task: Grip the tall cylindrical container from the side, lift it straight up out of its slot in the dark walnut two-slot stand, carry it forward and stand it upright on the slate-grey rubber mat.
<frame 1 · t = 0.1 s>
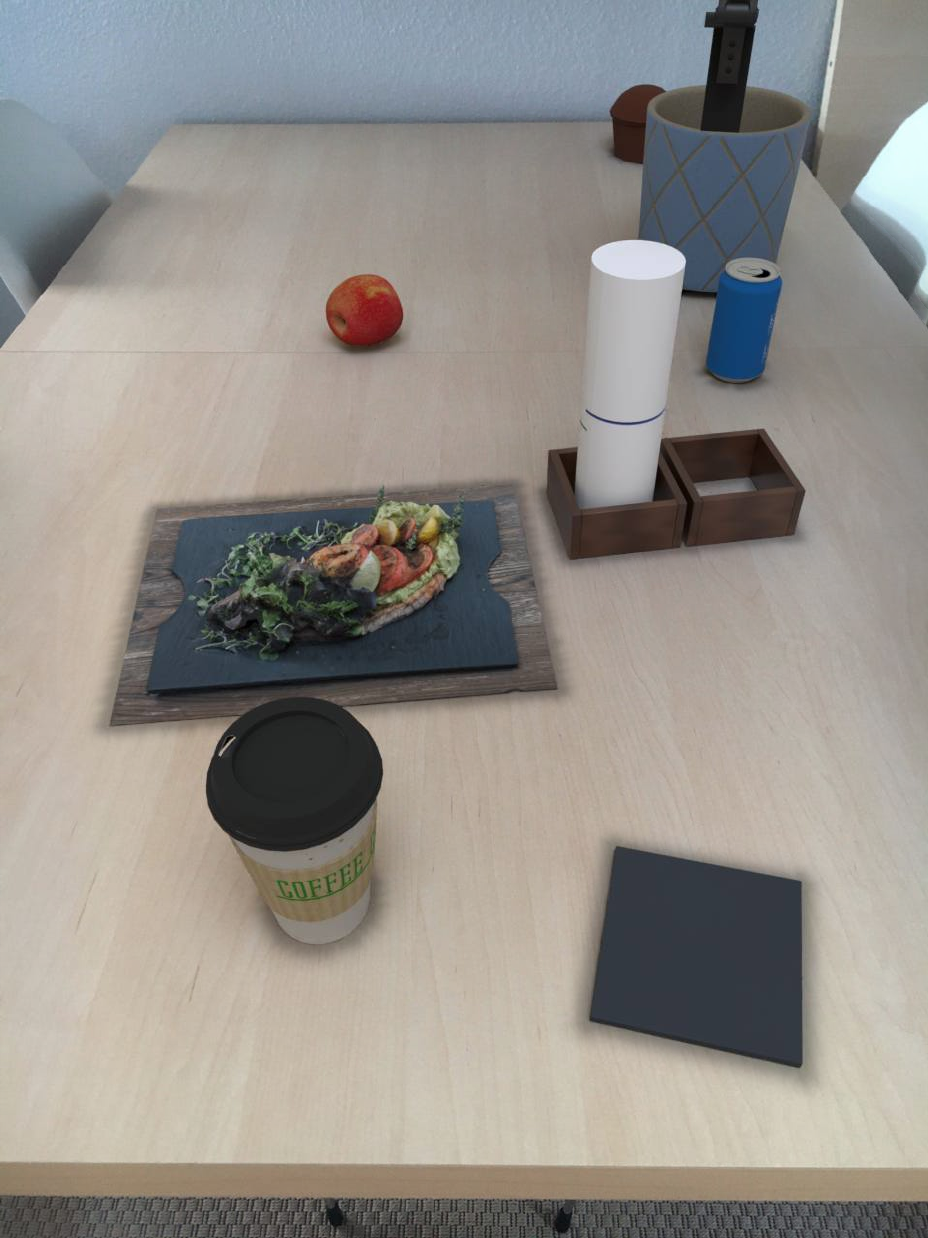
hand: (724, 102, 75), 34 cm above the table, tool pointing down, fingers open, 13 cm apart
plated dish: (336, 591, 86), on the table
beverage can: (733, 373, 112), on the table
planter: (703, 271, 131), on the table
mat: (699, 950, 61), on the table
apple: (366, 344, 119), on the table
muffin: (640, 154, 164), on the table
cylindrical container: (610, 520, 93), resting in stand
stand: (666, 513, 93), on the table
coffee cup: (322, 902, 64), on the table
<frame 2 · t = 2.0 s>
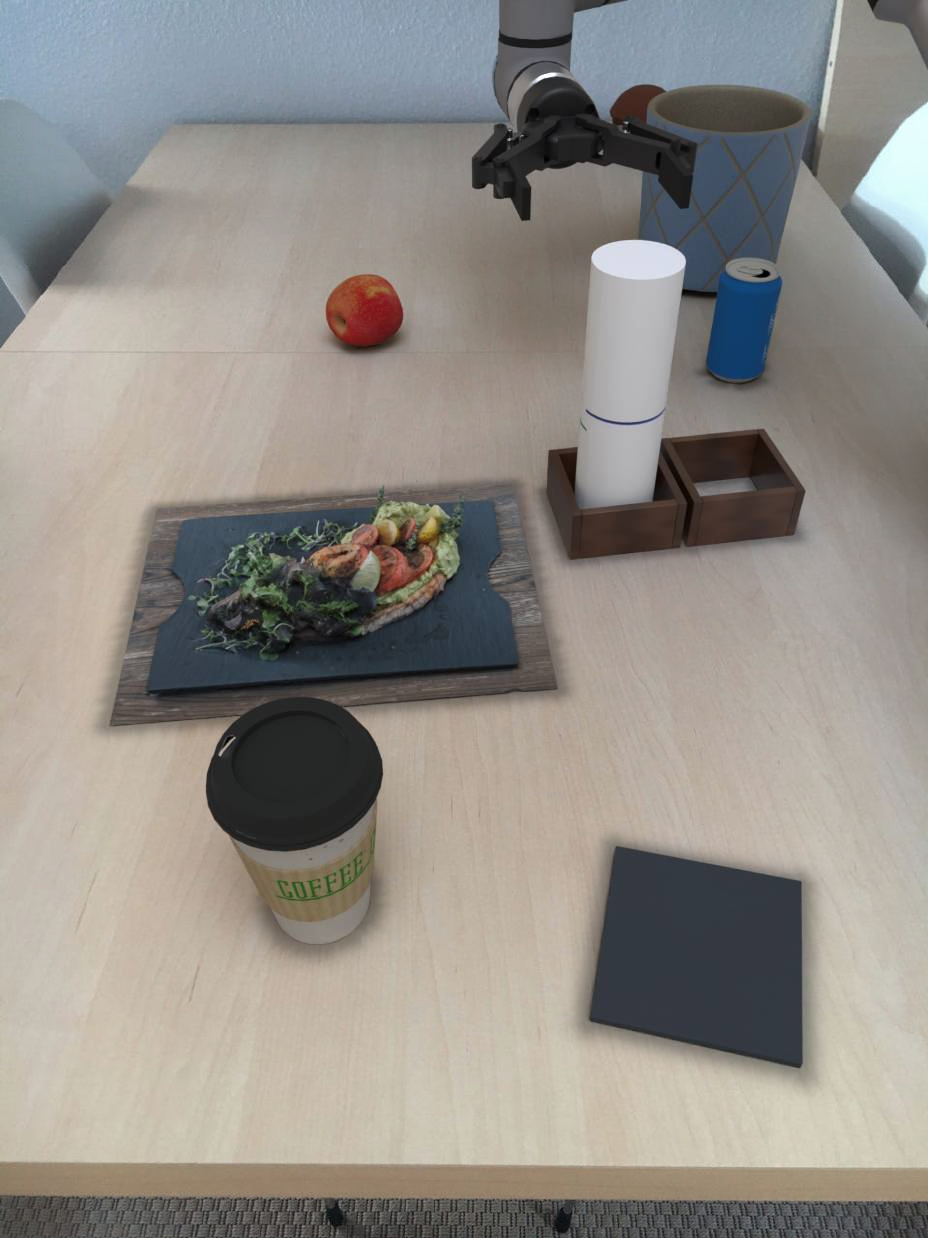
hand: (607, 198, 82), 26 cm above the table, tool horizontal, fingers open, 13 cm apart
nothing on the table moved.
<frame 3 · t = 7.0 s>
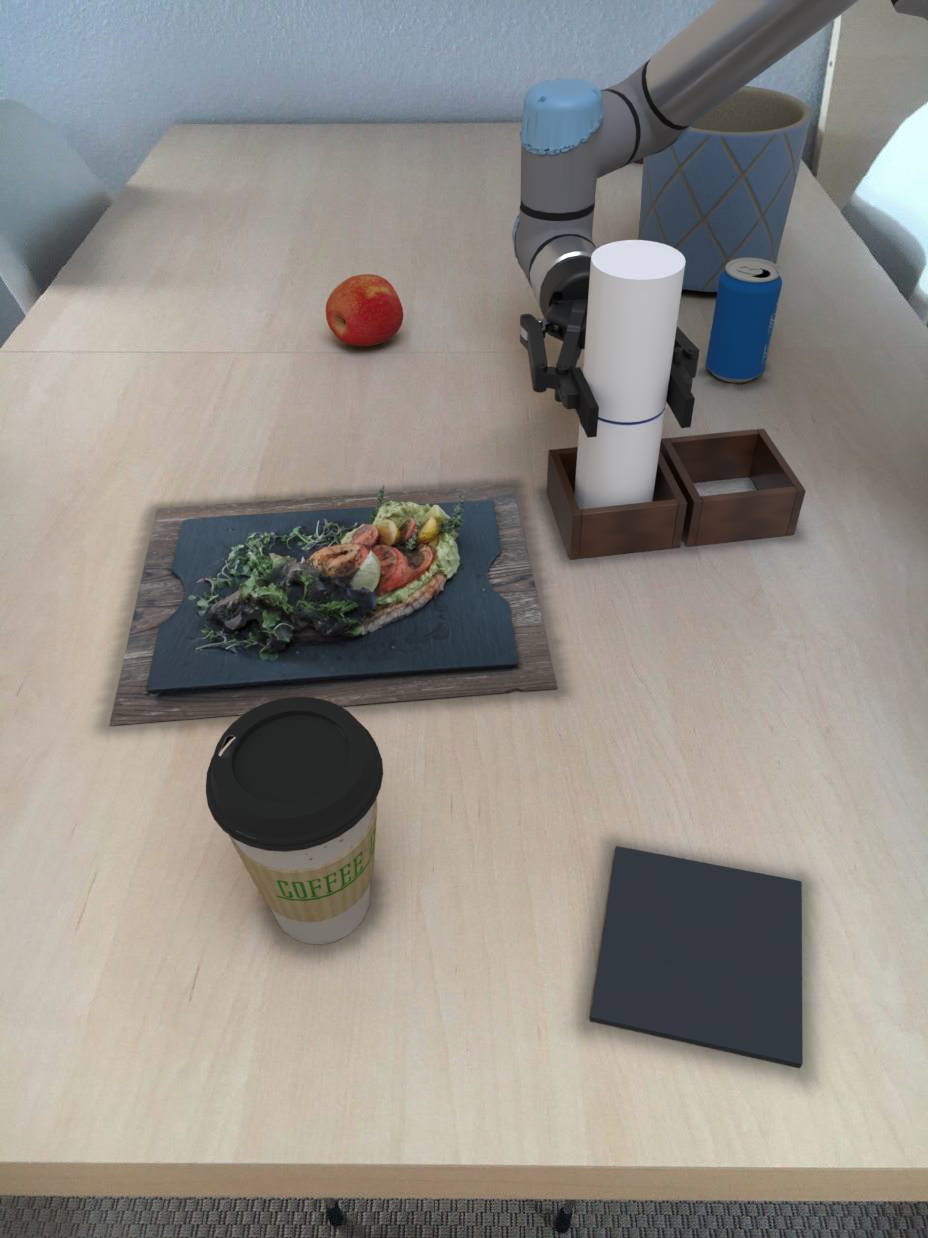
hand: (640, 417, 80), 14 cm above the table, tool horizontal, fingers closed on cylindrical container, 7 cm apart
cylindrical container: (610, 520, 93), resting in stand, touching gripper
everything else where it was.
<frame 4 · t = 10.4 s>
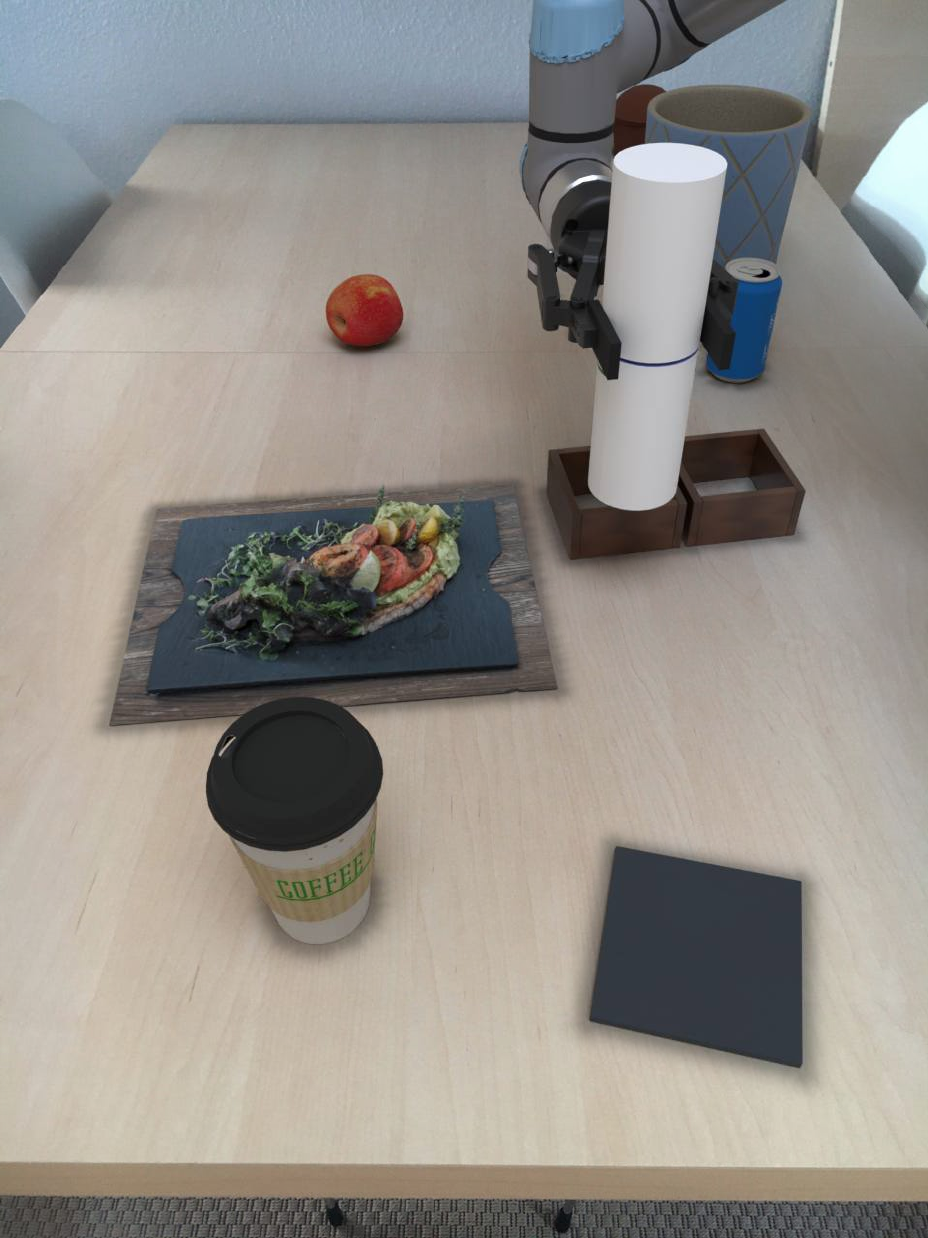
hand: (671, 356, 67), 24 cm above the table, tool horizontal, fingers closed on cylindrical container, 7 cm apart
cylindrical container: (631, 485, 80), point 10 cm above the table, touching gripper
everything else where it was.
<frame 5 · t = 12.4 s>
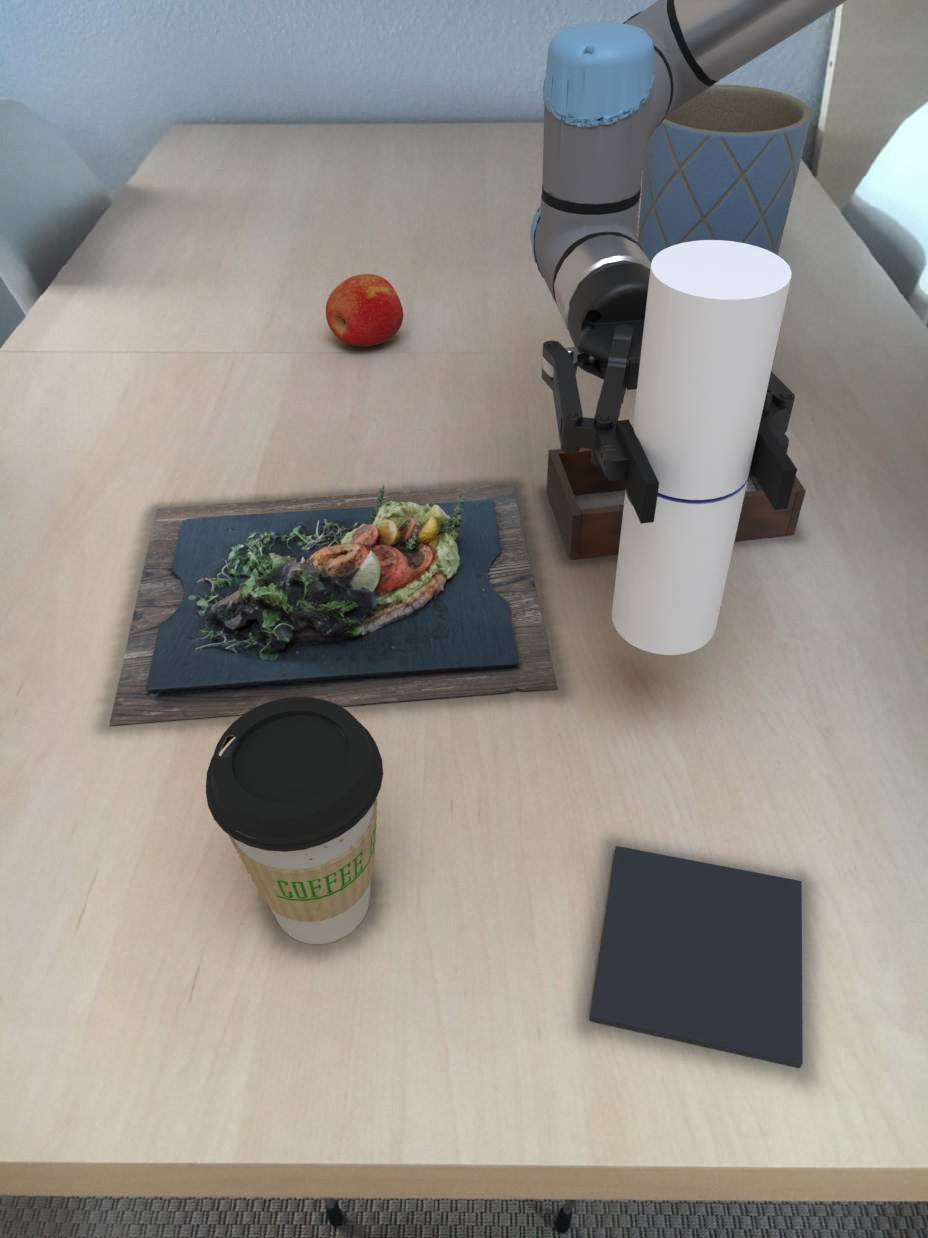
hand: (718, 496, 55), 24 cm above the table, tool horizontal, fingers closed on cylindrical container, 7 cm apart
cylindrical container: (663, 620, 69), point 10 cm above the table, touching gripper
everything else where it was.
when the fingers open (15 cm above the table, at t = 17.8 s): cylindrical container stays where it is, resting on mat.
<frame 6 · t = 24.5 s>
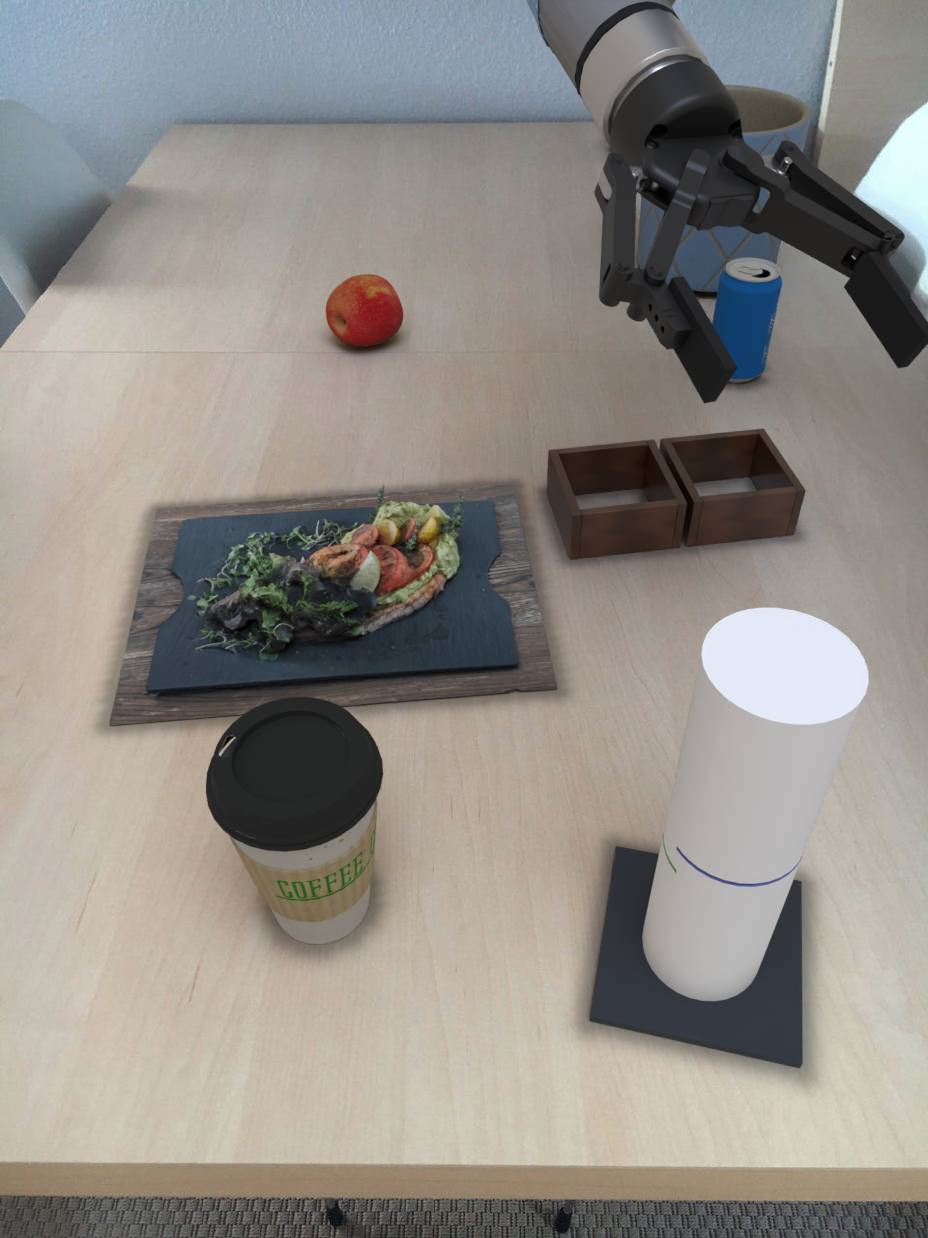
hand: (823, 368, 55), 29 cm above the table, tool tilted 70°, fingers open, 13 cm apart
cylindrical container: (700, 946, 61), resting on mat
everything else where it was.
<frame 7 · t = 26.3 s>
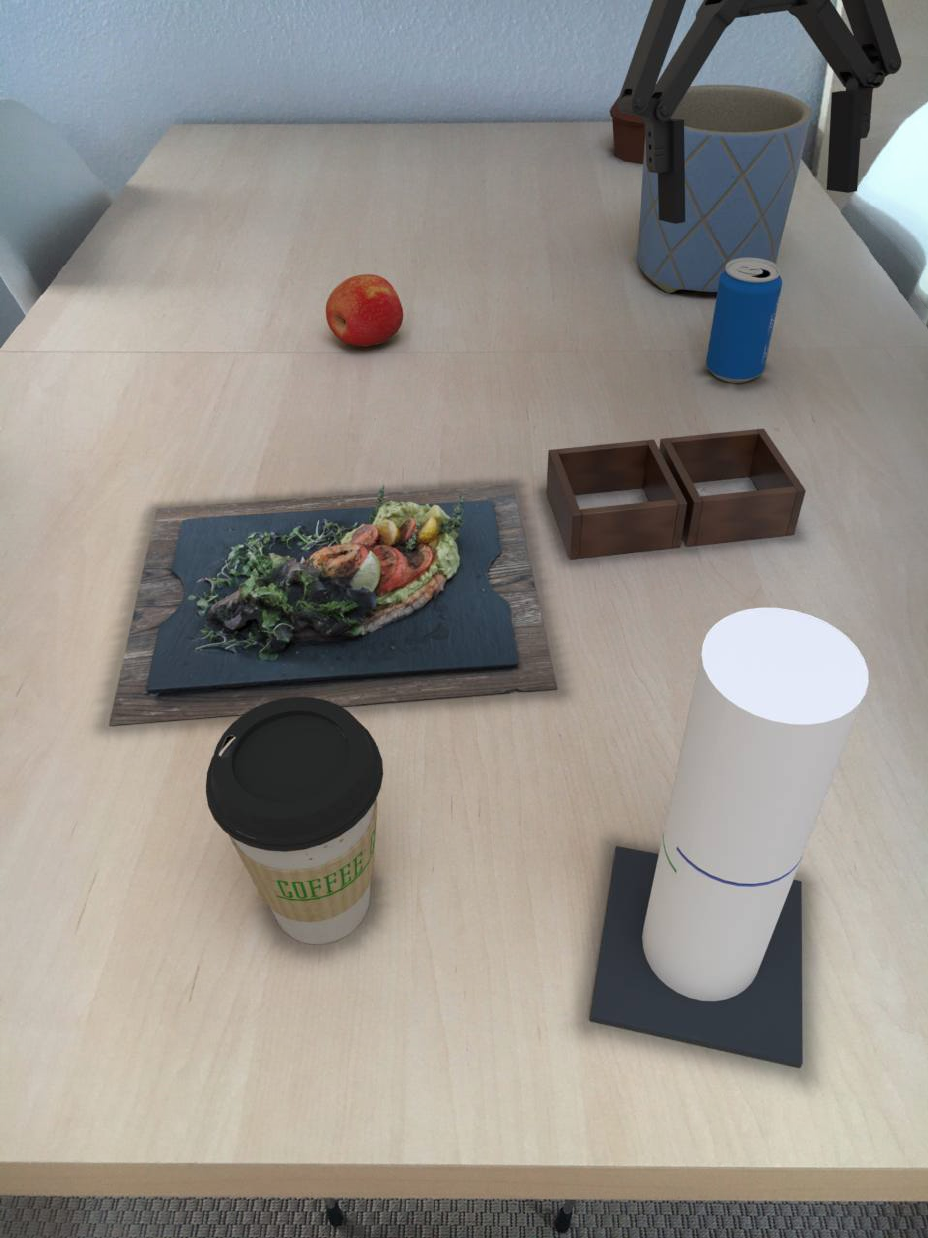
hand: (758, 206, 72), 29 cm above the table, tool pointing down, fingers open, 13 cm apart
nothing on the table moved.
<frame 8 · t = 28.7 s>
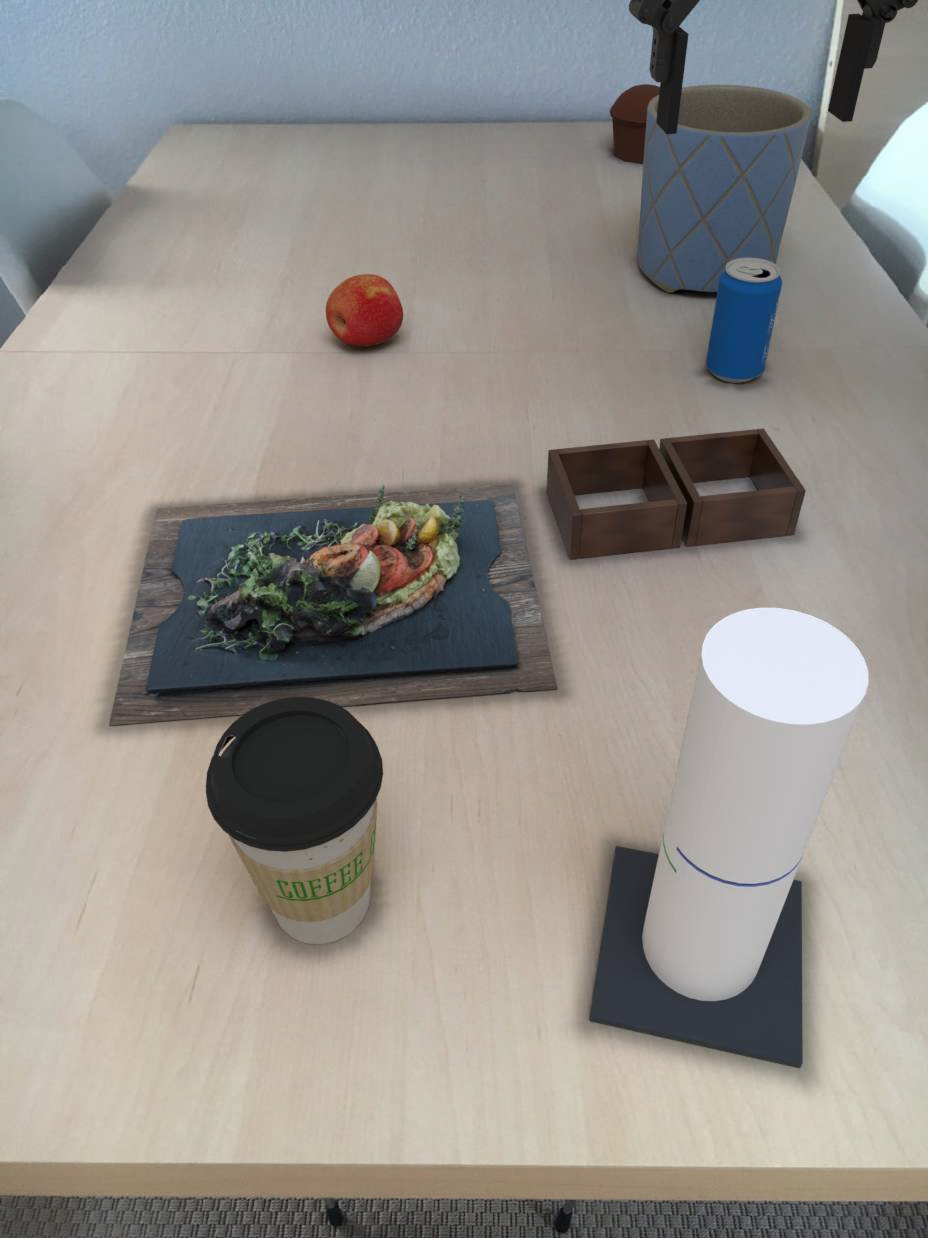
hand: (753, 122, 75), 33 cm above the table, tool pointing down, fingers open, 13 cm apart
nothing on the table moved.
at the end: cylindrical container inside the target area on the mat (0.0 cm from its centre), point 0.4 cm above the mat's base; cylindrical container tilted 0°; the gripper is holding nothing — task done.
